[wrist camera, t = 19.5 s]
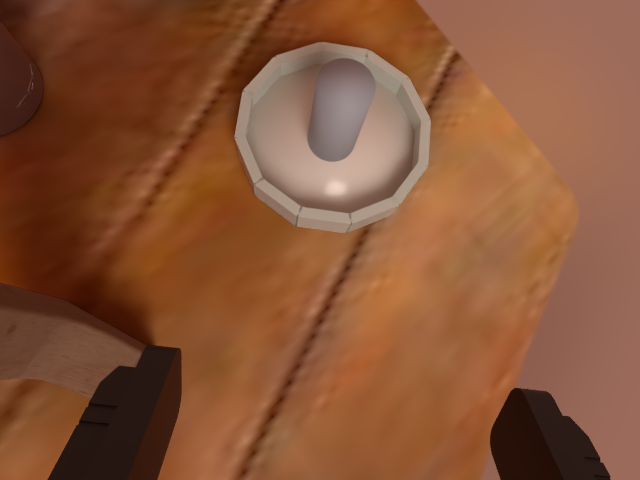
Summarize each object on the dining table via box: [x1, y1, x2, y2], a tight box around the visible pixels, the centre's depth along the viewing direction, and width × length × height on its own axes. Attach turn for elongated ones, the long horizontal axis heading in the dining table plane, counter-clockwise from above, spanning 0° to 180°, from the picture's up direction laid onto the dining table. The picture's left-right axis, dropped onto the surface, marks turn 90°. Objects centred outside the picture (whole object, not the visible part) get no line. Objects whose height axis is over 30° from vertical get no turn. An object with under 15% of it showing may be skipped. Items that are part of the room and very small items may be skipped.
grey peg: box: [307, 58, 376, 162], centre depth 38 cm, size 4×4×9 cm
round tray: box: [234, 42, 431, 233], centre depth 42 cm, size 17×17×3 cm
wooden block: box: [0, 283, 147, 400], centre depth 29 cm, size 9×4×18 cm, turn 62°
